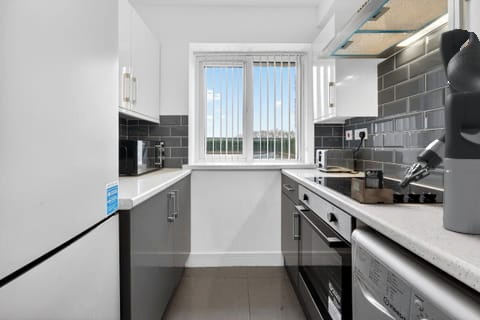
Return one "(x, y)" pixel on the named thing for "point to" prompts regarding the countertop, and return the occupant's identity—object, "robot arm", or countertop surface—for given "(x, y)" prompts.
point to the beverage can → (373, 179)
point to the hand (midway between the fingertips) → (400, 187)
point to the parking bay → (370, 193)
